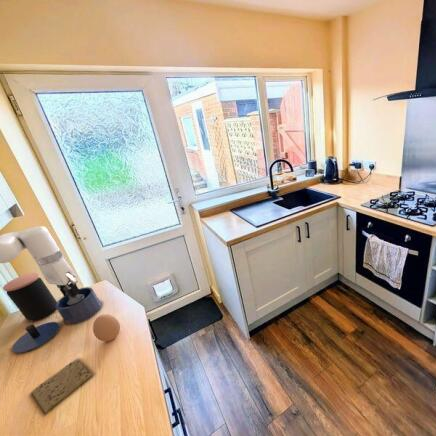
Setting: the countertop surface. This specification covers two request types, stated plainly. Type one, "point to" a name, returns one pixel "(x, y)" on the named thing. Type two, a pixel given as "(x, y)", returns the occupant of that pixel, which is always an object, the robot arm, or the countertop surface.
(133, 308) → the countertop surface
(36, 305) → the coffee jar
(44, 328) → the tin lid
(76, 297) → the grey tall lumpy piece
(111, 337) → the egg
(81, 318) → the tin
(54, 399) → the pitted brown brick
